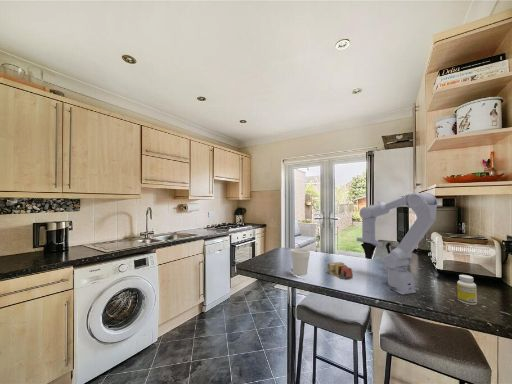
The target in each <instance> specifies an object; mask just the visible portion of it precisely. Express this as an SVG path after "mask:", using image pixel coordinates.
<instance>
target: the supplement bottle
mask: <svg viewBox="0 0 512 384" xmlns="http://www.w3.org/2000/svg"><path fill="white" fill-rule="evenodd" d="M458 278H459V279H458V281H457V282H456V287H457V288H456V289H457V300H458V301H459V302H461V303H463V304H466V305H471V306H475V305H477V304H478V295H477V284H476V283H475V282H474V277H473V276H471V275H467V274H459V275H458Z"/></svg>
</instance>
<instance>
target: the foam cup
mask: <svg viewBox="0 0 512 384" xmlns="http://www.w3.org/2000/svg"><path fill="white" fill-rule="evenodd" d="M310 254H311V251H310V249H306V248H300V247H299V248H292V249H290V255H291V264H292V272H293V275H294V274H295V275H297V276H307V274H308V267H309V260H310Z"/></svg>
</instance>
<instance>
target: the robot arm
mask: <svg viewBox="0 0 512 384" xmlns="http://www.w3.org/2000/svg"><path fill="white" fill-rule="evenodd" d="M403 206H404V207H405V206H407V207H408V206H409V208H410V209H411V210H412V211H413V212H414V213H415V215H416V220H415V221H414V222H413V224H412V225H411V226H410V228H409V229H408V231H407V233H405V235H404V237H403V239H401V242H400V244H399V243H398V244H399V245H398V247H397V248H395V249H393V250H392V251H391V250H390V253H389V254H388V253H387V254H385V255H384V258H383V263H384V264H385V266H386V268H387V285H388V286H390V287H392V288H391V289H390V290H391V291H394V292H395V293H398V294H400V295H408V294H414V293H417V291H416V290H415V288H416V287H415V275H414V274H413V273H412V272H411V273H410V272H408V271H407V266H408V265H410V264H411V261H412V257H413V254H412V253H413V251H414V250H415V249H416V248H417V246H418V244H420V242H421V241H422V239H423V238H424V237H425V235H426V234H427V232H428V231H429V230H430V229H431V228H432V226H433V225H434V223H435V222H436V221H437V209H438V208H437V207H438V206H439V202H438V200H437V198H436V196H435V194H432V193H430V192H426V193H425V192H424V193H421V192H412V193H410V194H409V193H407V194H405V195H402V196H401V197H398V198H395V199H393V200H391V201H389V202H386V201H380V200H379V201H377V203H376V204H369V206H368V207H367V206H364V207H362V208H360V210H359V216H360V218H361V223H362V224H361V226H362V227H361V230H362V232H361V233H362V236H361V237H356V242H359V243H361V244H360V246H361V247H362V249H363V252H364V255H365V258H366V259H367V260H368V259H372V257H373V254H374V252H375V249H376V248H377V247H378V248H383V242H380V241H379V240H377V239H376V219H377V218H378V217H380V216H383V215H386V214H389V213H390V210H393V209H396V208H401V207H403Z"/></svg>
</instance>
